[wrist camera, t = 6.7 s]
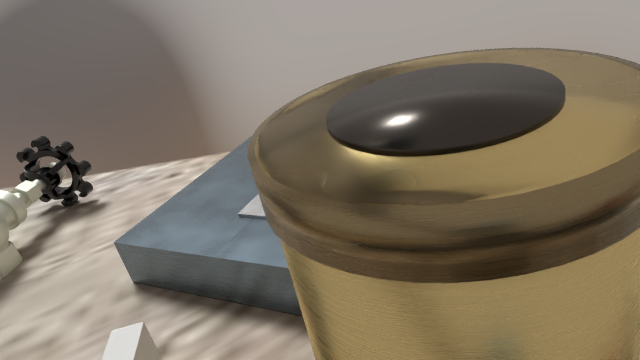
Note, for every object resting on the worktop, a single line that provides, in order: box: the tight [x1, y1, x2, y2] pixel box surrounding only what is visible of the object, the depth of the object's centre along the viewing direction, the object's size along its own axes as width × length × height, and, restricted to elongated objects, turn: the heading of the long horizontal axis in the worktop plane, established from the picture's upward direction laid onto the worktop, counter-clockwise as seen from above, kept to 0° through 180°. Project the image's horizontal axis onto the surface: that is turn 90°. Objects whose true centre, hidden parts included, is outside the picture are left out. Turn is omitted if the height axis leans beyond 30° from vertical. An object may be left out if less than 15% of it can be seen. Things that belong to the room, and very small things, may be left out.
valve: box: [0, 136, 93, 279], centre depth 37 cm, size 7×7×12 cm
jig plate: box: [114, 136, 303, 316], centre depth 30 cm, size 22×16×3 cm
